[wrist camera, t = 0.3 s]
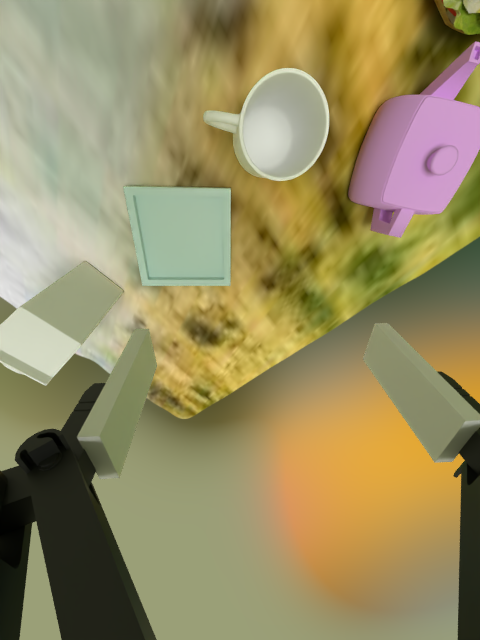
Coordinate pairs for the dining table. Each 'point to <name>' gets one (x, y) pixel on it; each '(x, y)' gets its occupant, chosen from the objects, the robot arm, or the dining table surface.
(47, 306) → the milk carton
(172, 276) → the tray
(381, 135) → the teapot
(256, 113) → the mug
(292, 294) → the dining table surface
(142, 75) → the dining table surface
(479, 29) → the food
